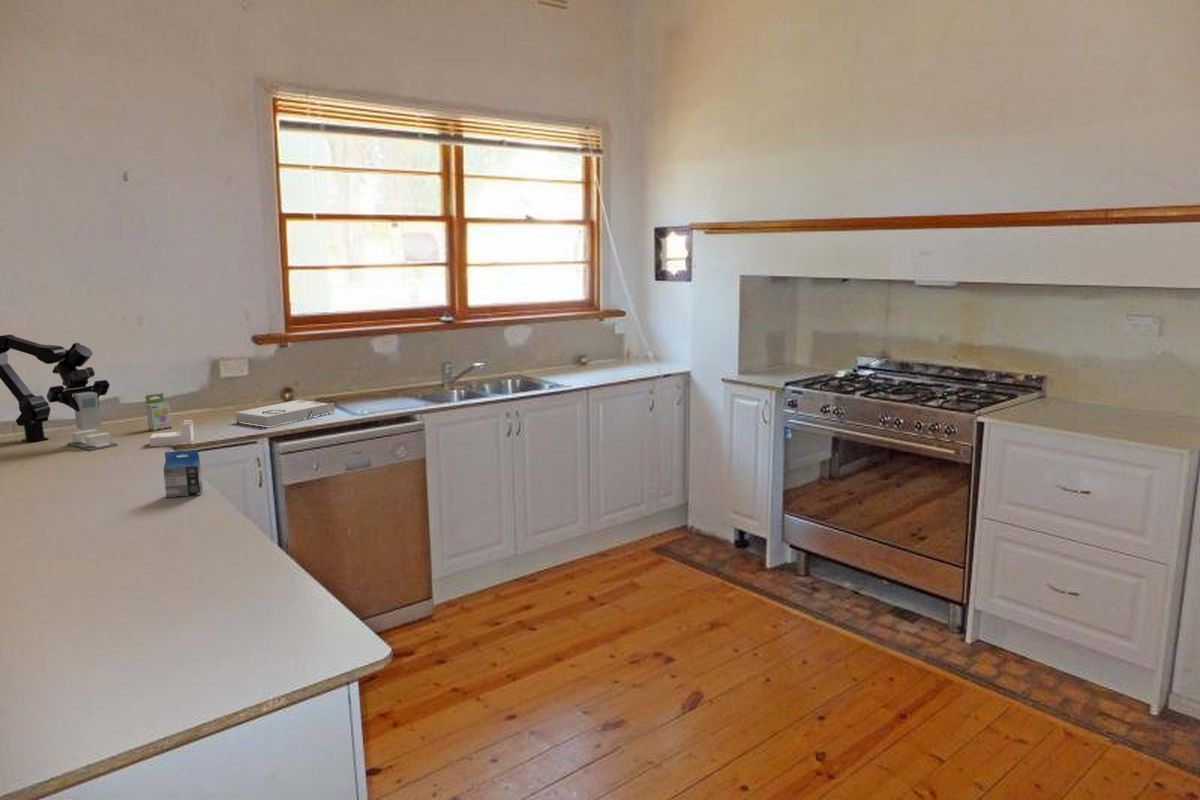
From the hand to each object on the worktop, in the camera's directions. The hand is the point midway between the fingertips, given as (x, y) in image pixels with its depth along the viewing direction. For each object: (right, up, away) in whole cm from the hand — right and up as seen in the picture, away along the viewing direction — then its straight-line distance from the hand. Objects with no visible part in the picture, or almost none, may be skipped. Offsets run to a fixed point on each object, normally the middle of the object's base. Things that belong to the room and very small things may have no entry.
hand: (88, 409), depth 290 cm
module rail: (-1, -13, +4) cm, 13 cm away
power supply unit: (+51, -5, +47) cm, 70 cm away
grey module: (-1, -6, +2) cm, 7 cm away
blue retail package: (+62, -23, -57) cm, 87 cm away
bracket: (+27, -13, +5) cm, 30 cm away
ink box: (+10, -8, +29) cm, 32 cm away
